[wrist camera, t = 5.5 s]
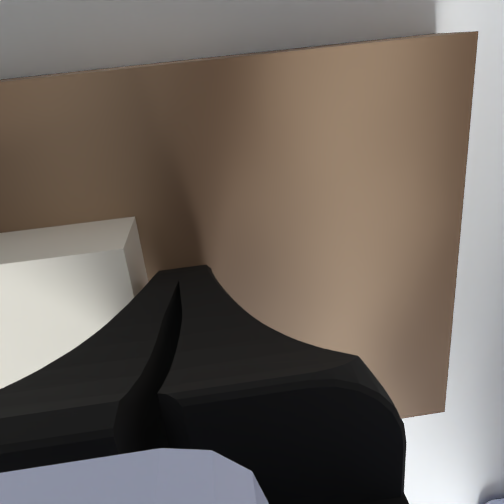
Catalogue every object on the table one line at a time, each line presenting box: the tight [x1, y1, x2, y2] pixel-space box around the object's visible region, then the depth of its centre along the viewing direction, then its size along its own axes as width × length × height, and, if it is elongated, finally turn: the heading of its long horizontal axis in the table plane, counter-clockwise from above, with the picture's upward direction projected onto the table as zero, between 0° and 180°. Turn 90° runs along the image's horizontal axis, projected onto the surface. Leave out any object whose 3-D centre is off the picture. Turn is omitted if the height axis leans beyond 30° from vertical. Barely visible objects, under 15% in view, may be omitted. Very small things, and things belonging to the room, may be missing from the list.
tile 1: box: [0, 217, 148, 389], centre depth 11 cm, size 4×4×2 cm
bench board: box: [0, 31, 478, 419], centre depth 13 cm, size 12×11×2 cm
